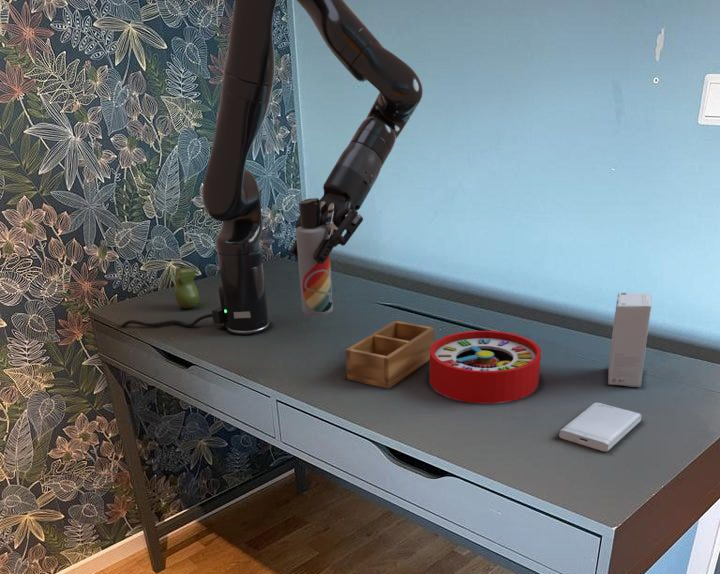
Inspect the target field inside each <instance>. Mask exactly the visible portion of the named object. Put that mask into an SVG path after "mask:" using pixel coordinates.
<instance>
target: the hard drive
mask: <svg viewBox="0 0 720 574" xmlns="http://www.w3.org/2000/svg"><path fill="white" fill-rule="evenodd" d="M641 420H642V414H641V413H639V412H635V411H632V410H628V409H625V408H620V407H617V406H613V405H609V404H605V403H601V402H594V403H593V404H591V405H590V406H589V407H587V409H585V410H584V411H583V412H581V413H579V415H578V416H576V417H575V418H574V419H573V420H571V421H570V422H569V423H567V424H566V425H565V426H564V427H563V428H561V429H560V430H559V435H558V436H559V438H560V439H562V440H564V441H568V442H572V443H575V444H577V445H581V446H585V447H588V448H591V449H594V450H597V451H601V452H603V453H604V452H609V451H610V450H611V449H612V448H613V447H614V446H615V445H616V444H618V442H620V441H621V440H622V439H623V438H624V437H625V436H626V435H627V434H629V432H631V430H633V429H634V428H635V427H636V426H637V425H638V424H639V423H640V422H641Z"/></svg>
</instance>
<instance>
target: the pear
mask: <svg viewBox="0 0 720 574" xmlns="http://www.w3.org/2000/svg"><path fill="white" fill-rule="evenodd" d="M195 278H196V273H195V271H194V270H193V268H190V267H189V266H188V265H179V267H178V268H176V271H175V273H174V280H175V284H174V297H175V300H176V303H177V304H178V305H179V306H180V307H181V308H183V309H186V310H187V309H189V310H190V309H193V308H195V307H197V305H198V304H199V302H200V294H199V289H198V287H197V286H196V283H195Z"/></svg>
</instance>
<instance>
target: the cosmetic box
mask: <svg viewBox="0 0 720 574" xmlns="http://www.w3.org/2000/svg"><path fill="white" fill-rule="evenodd" d="M651 311H652V294H651V293H647V292H635V293H634V292H618V293H617V299H616V306H615V311H614V319H613V326H612V333H611V334H612V335H611V341H610V351H609V357H608V372H607V373H608V375H607V377H608V378H607V379H608V380H607V384H608V385H611V386H612V385H613V386H624V387H631V388H641V387H642V379H643V372H644V363H645V357H646V350H647V349H646V348H647V340H648V334H649V327H650V318H651Z"/></svg>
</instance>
